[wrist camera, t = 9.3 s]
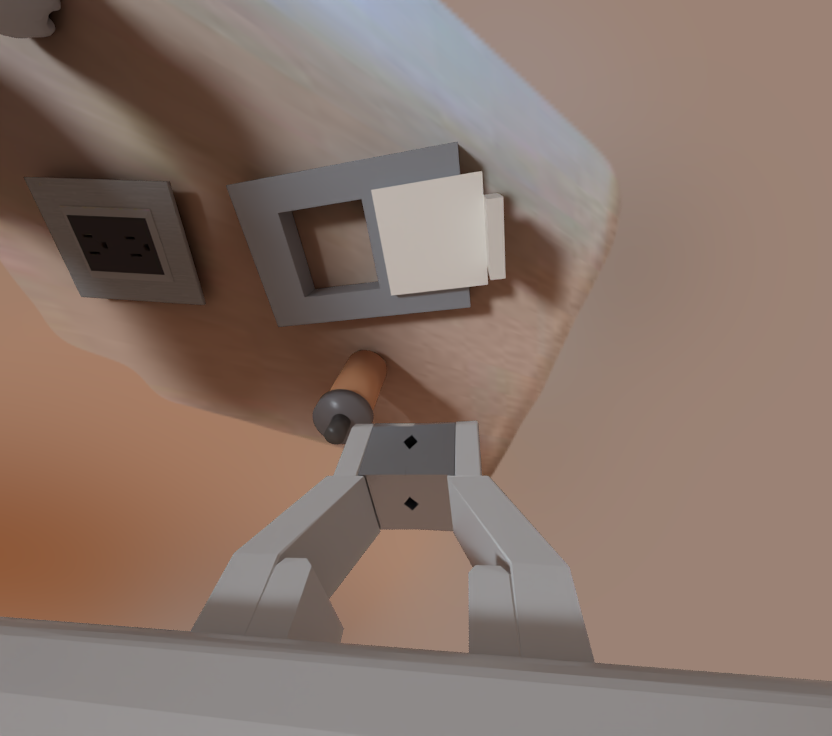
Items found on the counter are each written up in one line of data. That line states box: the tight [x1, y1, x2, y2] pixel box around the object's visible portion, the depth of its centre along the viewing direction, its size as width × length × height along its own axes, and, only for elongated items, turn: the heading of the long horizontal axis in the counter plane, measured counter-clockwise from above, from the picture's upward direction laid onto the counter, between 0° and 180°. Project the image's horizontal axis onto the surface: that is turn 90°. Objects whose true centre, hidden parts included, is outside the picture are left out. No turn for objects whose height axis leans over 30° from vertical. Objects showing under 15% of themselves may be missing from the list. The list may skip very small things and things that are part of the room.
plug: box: [313, 350, 387, 444], centre depth 32 cm, size 5×5×12 cm
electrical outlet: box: [24, 177, 206, 305], centre depth 32 cm, size 13×10×2 cm
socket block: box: [226, 142, 470, 327], centre depth 29 cm, size 18×12×2 cm, turn 99°
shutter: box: [371, 171, 506, 296], centre depth 25 cm, size 9×8×5 cm
